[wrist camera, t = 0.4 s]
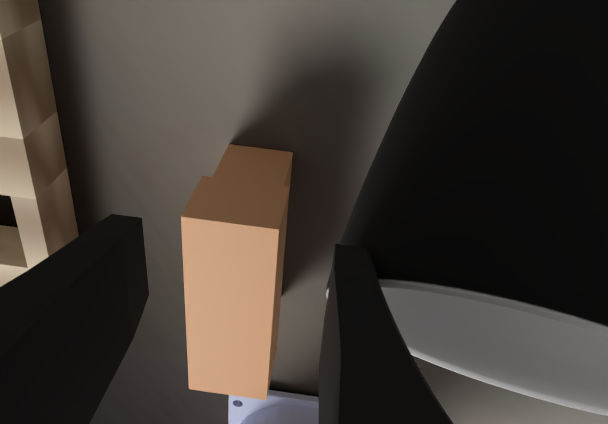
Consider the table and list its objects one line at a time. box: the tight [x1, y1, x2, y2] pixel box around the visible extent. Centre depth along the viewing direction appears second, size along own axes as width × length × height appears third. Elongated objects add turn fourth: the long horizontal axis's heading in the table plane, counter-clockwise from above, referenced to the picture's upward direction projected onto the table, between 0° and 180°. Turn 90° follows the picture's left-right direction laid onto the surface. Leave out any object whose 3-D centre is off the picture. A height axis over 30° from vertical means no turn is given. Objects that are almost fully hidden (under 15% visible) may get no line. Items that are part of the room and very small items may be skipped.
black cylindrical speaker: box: [326, 0, 608, 416], centre depth 15 cm, size 12×9×10 cm
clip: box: [181, 144, 293, 400], centre depth 21 cm, size 8×3×6 cm, turn 175°
